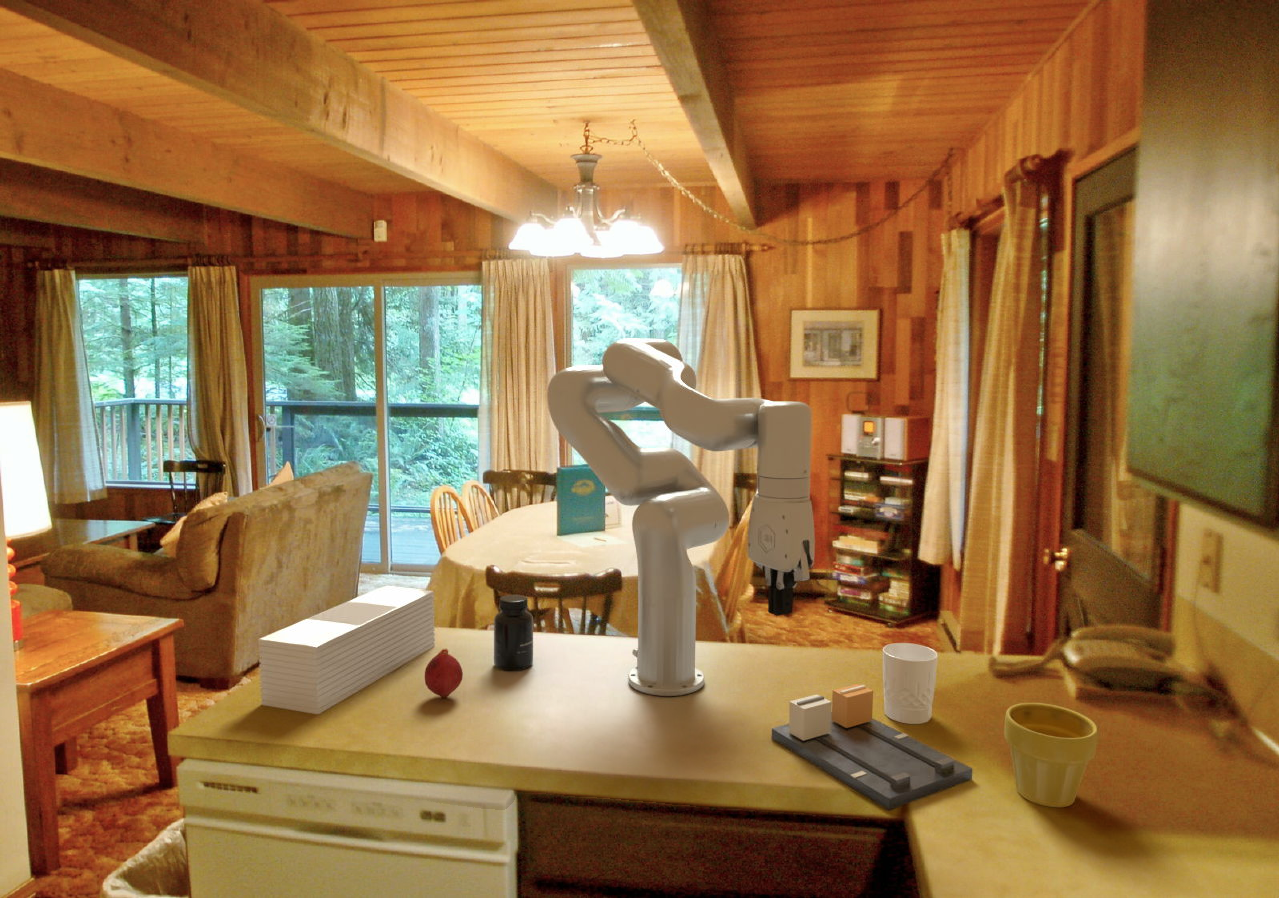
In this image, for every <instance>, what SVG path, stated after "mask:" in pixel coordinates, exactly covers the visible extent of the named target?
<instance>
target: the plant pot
mask: <svg viewBox="0 0 1279 898" xmlns="http://www.w3.org/2000/svg"><path fill="white" fill-rule="evenodd" d="M1004 715H1005V716H1004V717H1005V718H1004V728H1003V729H1004V730H1003V731H1004V733H1003V736H1004V739H1005V741H1006V743H1007V744H1008V745H1009V749H1010V754H1011V762H1012V768H1013V769H1012V770H1013V775H1014V783H1015V784H1014V785H1015V789H1016V791H1017V792H1018V794H1019V795H1020V796H1022V797H1023V798H1024V799H1026V800H1028V801H1030V802H1031V803H1034V804H1038V805H1041V806H1043V807H1049V808H1065V807H1069V806H1071V805H1073V803H1075V800H1076V798H1077V793H1078V791H1079V788H1080V785H1081V782H1082V780H1083V776H1084V773H1085V770H1086V768H1087V765H1088V763H1089V762H1090V761H1091V760H1093V759H1094V758H1095V755H1096V752H1097V744H1098V736H1099V735H1098V734H1099V733H1098V726H1097V724H1096V723H1095V722H1094V721H1093V720H1092V719H1090V718H1089V717H1087V716H1086V715H1083V714H1082V713H1079V712H1078V711H1075V710H1073V709H1069V708H1066V707H1064V706H1063V707H1062V706H1059V705H1054V704H1049V703H1041V702H1022V703H1016V704H1013V705H1011V706H1010V707H1008V708H1007V709H1006V712H1005V714H1004Z"/></svg>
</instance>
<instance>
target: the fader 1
mask: <svg viewBox="0 0 1279 898" xmlns="http://www.w3.org/2000/svg"><path fill="white" fill-rule="evenodd" d="M788 707H789V710H788V711H789V712H788V713H789V714H788V716H789V717H788V724H789V733H791V734H793V735H794V736H796V737H798V738H799V739H801V740H803V741H804V740H807V739H811V738H814V737H818V736H821V735H824V734H828V733H831V712H832V700H829V699H827V698H825V696H823V695H819V694H817V693H816V694H814V695H813V694H812V695H809V696H805V697H803V698H802V697H801V698H798V699H794V700H790V701H789V706H788Z"/></svg>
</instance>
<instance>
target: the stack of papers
mask: <svg viewBox="0 0 1279 898" xmlns="http://www.w3.org/2000/svg"><path fill="white" fill-rule="evenodd" d="M434 595H435V594H434V591H433V590H428V589H427V590H425V589H416V588H408V587H399V586H390V585H384V586H380V587H379V588H376V589H374V590H371V591H369V592H366V593H365V594H362V595H359V596H357V597H355V598H353V599H351V600H348V601H345V602H343V603H340V604H338V605H335V606H334V607H331V608H329V609H327V610H324V611H322V612H320V613H317V614H314V615H312V616H310V617H307V618H305V619H302V620H300V621H298V622H295V623H294V624H291V625H289V626H286V627H283V628H282V629H278V630H276V631H274V632H272V633H270V634H267V635H265V636H262V637H259V638H258V639H257V641H258V657H259V659H258V662H259V679H260V680H259V681H260V683H259V684H260V699H261V701H260V702H261V703H260V705H261V706H267V707H273V708H278V709H283V710H284V709H285V710H291V711H295V712H302V713H308V714H314V715H320V714H321V713H323V712H325V711H326V710H329V709H330V708H332V707H333V706H335V705H337V704H339V703H340V702H342V701H344V700H345V699H348V697H350V696H352V695H354V694H355V693H358V692H359V691H361V690H362V689H364V688H366V687H368V686H369V685H371V684H373V683H374V682H376V681H378V680H380V679H381V678H384V677H385V676H386V675H388V674H390V673H391V672H393V671H394V670H397V669H398V668H400V667H401V666H404V665H405V664H407V663H409V662H410V661H412V660H413V659H415V658H417V657H418V656H420V655H422V654H424V653H425V652H428V651H429V650H431V649H432V648H434V647H436V644H435V643H436V642H435V641H436V639H435V637H436V636H435V635H436V632H435V617H434V616H435V607H434V606H435V602H434V601H435V597H434Z"/></svg>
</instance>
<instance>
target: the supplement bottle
mask: <svg viewBox="0 0 1279 898" xmlns="http://www.w3.org/2000/svg"><path fill="white" fill-rule="evenodd" d="M528 608H529V605H528V597H527V596H525V595H521V594H507V595H504V596H501V597H500V598H499V605H498V609H499V612H497V613H496V614H495V616H494V619H493V665H494V666H495V667H496V668H497V669H499V670H502V671H507V672H508V671H509V672H510V671H512V672H514V671H515V672H516V671H523V670H526V669H528V668H530V667H532V665H533V663H534V618H533V615H532V613H531V612H529V610H528Z"/></svg>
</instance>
